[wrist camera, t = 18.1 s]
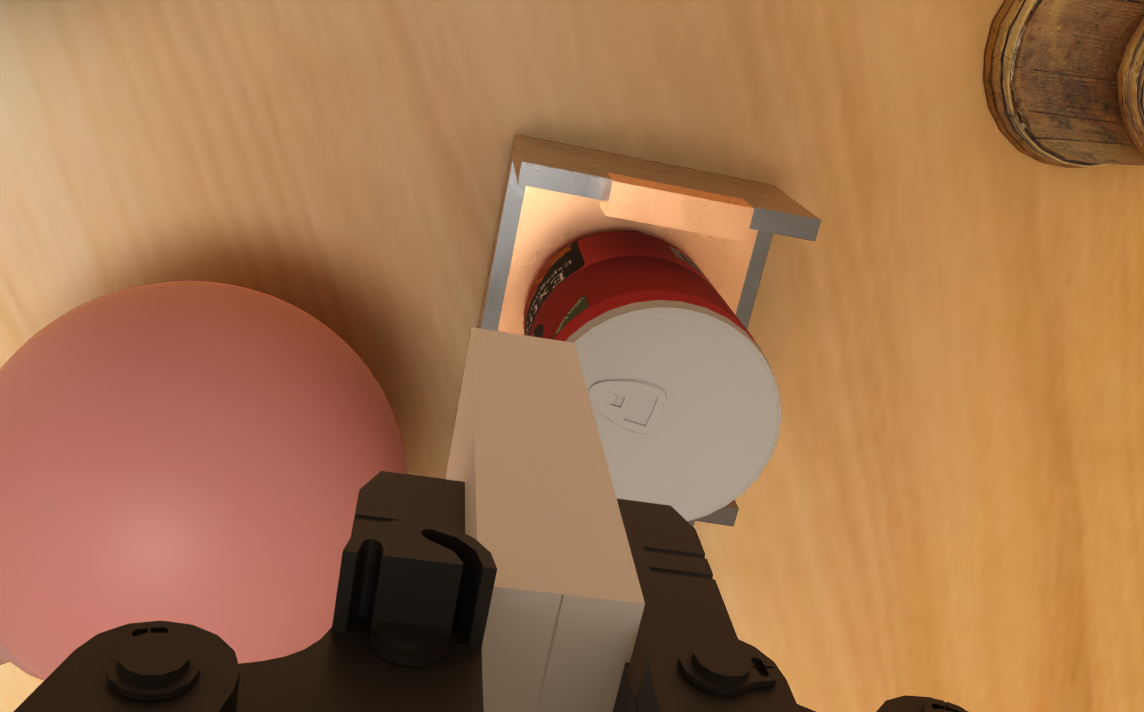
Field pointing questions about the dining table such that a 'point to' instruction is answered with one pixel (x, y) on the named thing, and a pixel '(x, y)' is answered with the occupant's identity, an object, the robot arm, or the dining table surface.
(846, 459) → the dining table surface
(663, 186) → the rack
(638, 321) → the canned food
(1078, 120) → the wooden mug
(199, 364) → the balloon
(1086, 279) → the dining table surface
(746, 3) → the dining table surface
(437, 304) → the dining table surface
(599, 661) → the robot arm
